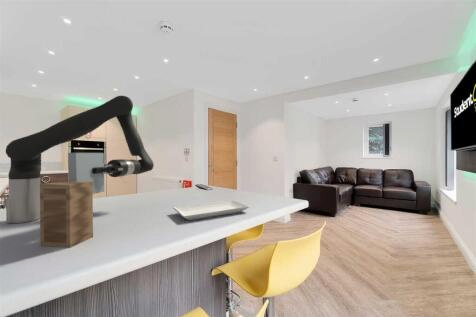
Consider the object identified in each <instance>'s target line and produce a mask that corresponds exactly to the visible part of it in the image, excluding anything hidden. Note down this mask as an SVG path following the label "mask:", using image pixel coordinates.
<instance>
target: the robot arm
mask: <svg viewBox="0 0 476 317" xmlns="http://www.w3.org/2000/svg"><path fill="white" fill-rule="evenodd" d="M133 107H134V104H133V100H132V99H131V98H130V97H128V96H125V95H116V96H114V97H113V98H111V99H110V100H108V101H106V102H104V103H102V104H100V105H98V106H95V107H92V108H90V109H87V110H84V111H82V112H80V113H77V114H75V115H72V116H70V117H67V118H65V119H63V120H61V121H58V122H56V123H55V124H52V125H51V126H49V127H47V128H45V129H44V130H40V131H39V132H35V133H32V134H29V135H26V136H24V137H19V138H17V139H14V140H12V141H10V142H9V143H8V144H7V145H6V147H5V154H6V156H7V157H8V158H9V159H10V168H9V171H8V197H7V198H6V199H5V202H6V203H5V204H6V205H5V208H6V209H5V210H6V211H5V212H6V217H5V218H6V221H5V222H6V224H21V223H22V224H23V223H29V222H34V221H38V220H40V184H41V171H42V153H44V152H46V151H48V150H50V149H51V148H55V146H59V145H61V144H64V143H68V142H71V141H74V140H76V139H78V138H79V139H80V138H82V137H84V136H86V135H87V134H90V133H92V132H93V131H95V130H97V129H99V127H101V126H102V125H103V124H105V123H107V121H110V120H111V119H114V118H116V119H117V121H118V124H119V126H120V128H121V130H122V133H123V135H124V138H125V142H126V144H127V147H128V151H129V153H130V155H131V156H133V157H139V158H140V159H137V160H136V159H126V158H123V159H121V158H119V159H111V160H110V161H108V162H107V163H104V166H103V167H96V168H92V173H93V174H97V173H104V175H108V176H110V177H111V178H119V177H120V178H121V177H125V176H129V175H140V174H143V173H148V172H150V171H152V170H153V169H154V167H155V166H154V164H155V163H154V162H153V159H152V158H151V157H150V155H149V154H148V152H147V151H146V148H145V147H144V146H145V145H144V143H143V141H142V138H141V136H140V134H139V132H138V130H137V128H136V125H135V123H134V121H133V115H132V111H133V109H134V108H133Z"/></svg>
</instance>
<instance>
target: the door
mask: <svg viewBox="0 0 476 317" xmlns="http://www.w3.org/2000/svg"><path fill="white" fill-rule="evenodd" d="M104 155H105V154H104V152H67V162H68V163H67V164H68V167H67V169H68V181H89V182H93V195H95V194H100V193H103V192H105V174H104V173H97V174H93V173H92V168H96V167H103V166H104V164H105V163H104V162H105V161H104V157H105V156H104Z"/></svg>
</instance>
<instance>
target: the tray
mask: <svg viewBox="0 0 476 317" xmlns="http://www.w3.org/2000/svg"><path fill="white" fill-rule="evenodd" d="M249 208H250V206H249V205H246V204H244V203H241V202H239V201H236V200H235V199H229V200H220V201H219V200H218V201H211V202H204V203H202V202H201V203H195V204H194V203H193V204H186V205H177V206H173V207H172V209H173V210H174V211H175V212H177V213H178V214H179V215H180V216H181V217H182V218H184V219H186V220H188V221H194V220H195V221H196V220H198V219H205V218H212V217H218V216H224V215H225V216H226V215H231V214H237V213H241V212H244V211H246V210H247V209H249Z"/></svg>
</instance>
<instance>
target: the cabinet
mask: <svg viewBox="0 0 476 317" xmlns="http://www.w3.org/2000/svg"><path fill="white" fill-rule="evenodd" d="M93 196H94V194H93V182H89V181H69V180H68V181H67V180H66V181H65V180H63V181H55V182H49V183H47V182H46V183H40V219H39V222H40V223H39V226H40V227H39V228H40V230H39V232H40V233H39V236H40V239H39V241H40V246H42V247H43V246H44V247H45V246H46V247H61V248H72V247H74V246H77V245H78V244H80V243H84V242H85V241H87V240H89V239H91V238H92V239H93V237H94V216H93V214H94V210H93V209H94V208H93V207H94V205H93V204H94V202H93V199H94V198H93Z"/></svg>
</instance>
